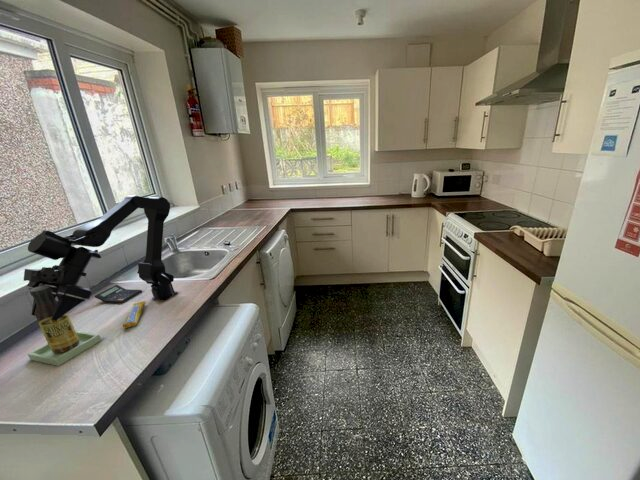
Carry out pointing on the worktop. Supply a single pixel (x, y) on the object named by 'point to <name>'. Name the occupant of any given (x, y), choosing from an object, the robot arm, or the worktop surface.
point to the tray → (49, 357)
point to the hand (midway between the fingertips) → (43, 317)
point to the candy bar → (134, 314)
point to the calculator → (117, 294)
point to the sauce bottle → (53, 321)
